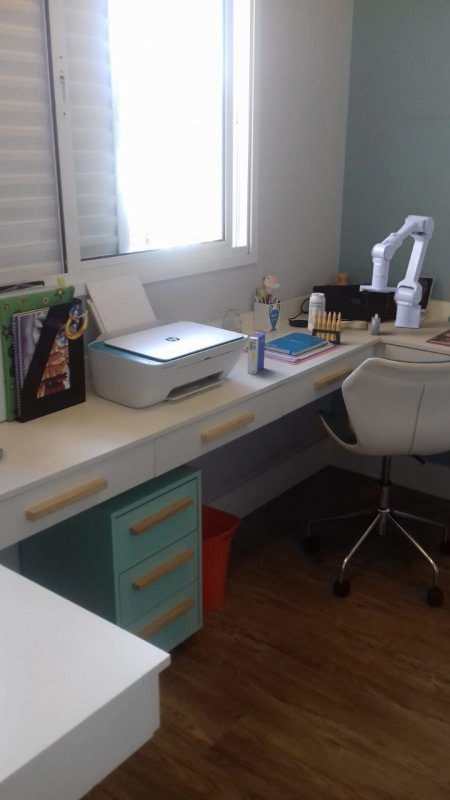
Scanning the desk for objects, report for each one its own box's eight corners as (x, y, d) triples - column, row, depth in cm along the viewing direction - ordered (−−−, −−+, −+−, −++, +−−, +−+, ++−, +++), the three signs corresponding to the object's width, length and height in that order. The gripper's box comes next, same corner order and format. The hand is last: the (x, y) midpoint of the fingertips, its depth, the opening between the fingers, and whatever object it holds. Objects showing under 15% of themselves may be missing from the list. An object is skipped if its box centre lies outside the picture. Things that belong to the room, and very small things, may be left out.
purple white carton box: (256, 366, 243) (257, 331, 239) (263, 367, 242) (265, 332, 238) (246, 372, 236) (248, 336, 232) (254, 374, 235) (256, 338, 231)
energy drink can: (325, 331, 289) (328, 293, 284) (319, 334, 285) (322, 296, 279) (311, 329, 292) (314, 291, 287) (305, 332, 287) (307, 294, 282)
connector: (378, 331, 291) (380, 313, 288) (378, 335, 285) (380, 316, 282) (370, 331, 291) (372, 312, 289) (370, 335, 286) (372, 316, 283)
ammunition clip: (311, 341, 274) (313, 310, 270) (311, 340, 276) (314, 309, 272) (339, 344, 271) (342, 313, 267) (340, 343, 273) (342, 311, 269)
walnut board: (366, 323, 303) (366, 321, 303) (365, 330, 292) (366, 328, 292) (334, 321, 306) (335, 319, 305) (333, 328, 295) (333, 326, 294)
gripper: (361, 276, 278) (357, 311, 282) (400, 278, 275) (396, 314, 280) (361, 273, 284) (358, 307, 289) (399, 275, 282) (395, 310, 286)
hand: (376, 310), depth 285 cm, fingers open, 7 cm apart
